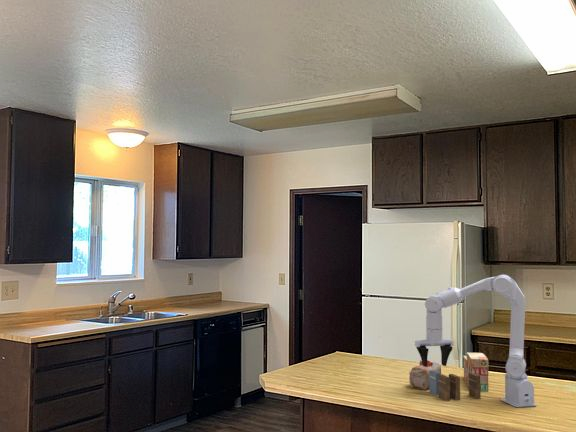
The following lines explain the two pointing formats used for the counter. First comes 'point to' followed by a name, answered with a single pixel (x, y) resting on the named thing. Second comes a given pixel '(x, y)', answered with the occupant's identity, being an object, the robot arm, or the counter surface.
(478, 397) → the domino
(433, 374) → the placed domino
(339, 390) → the counter surface
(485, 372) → the stack of blocks
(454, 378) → the domino
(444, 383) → the domino
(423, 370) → the food item
